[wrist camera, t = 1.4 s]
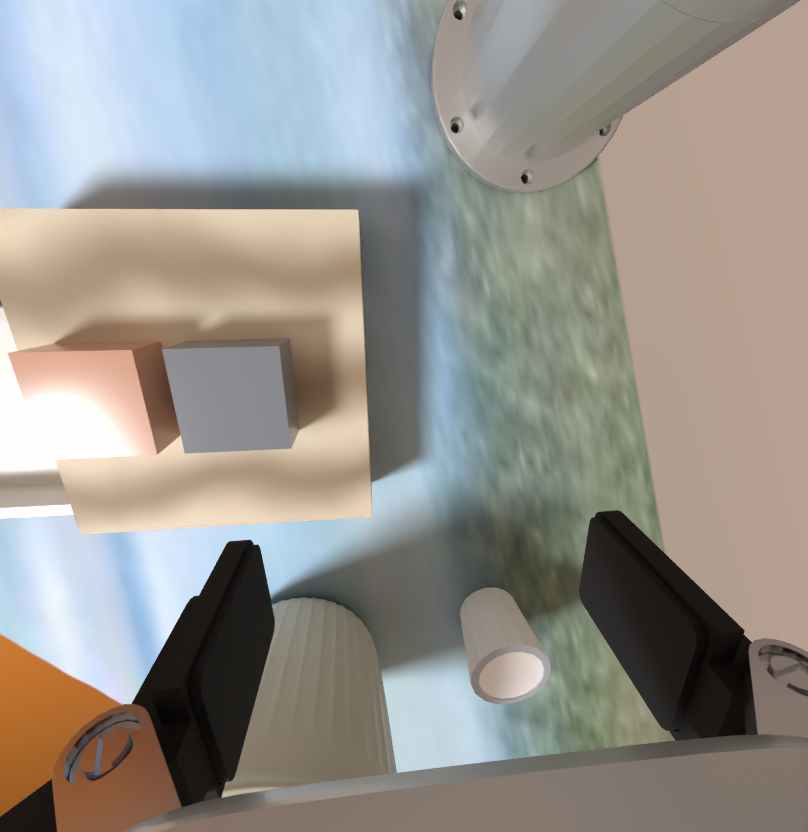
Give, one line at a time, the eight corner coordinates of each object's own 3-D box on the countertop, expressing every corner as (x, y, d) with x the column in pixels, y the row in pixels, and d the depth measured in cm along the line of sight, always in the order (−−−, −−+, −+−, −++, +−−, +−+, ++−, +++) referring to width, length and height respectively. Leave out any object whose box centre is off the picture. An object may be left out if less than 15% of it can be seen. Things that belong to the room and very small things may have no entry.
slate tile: (187, 340, 23) (161, 349, 20) (289, 338, 24) (279, 346, 21) (205, 434, 25) (184, 453, 22) (299, 430, 26) (291, 448, 23)
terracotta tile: (52, 343, 22) (7, 352, 20) (160, 341, 23) (131, 349, 20) (82, 439, 24) (44, 459, 22) (181, 435, 25) (157, 454, 22)
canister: (394, 699, 42) (419, 1075, 22) (220, 709, 40) (77, 1128, 20) (402, 562, 36) (445, 908, 16) (198, 566, 34) (-34, 961, 14)
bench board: (44, 222, 25) (-31, 208, 20) (359, 222, 26) (358, 209, 22) (123, 496, 31) (80, 534, 27) (371, 483, 33) (372, 516, 28)
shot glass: (482, 571, 37) (506, 634, 31) (534, 599, 39) (568, 664, 32) (439, 619, 39) (454, 689, 32) (491, 644, 40) (516, 715, 34)
